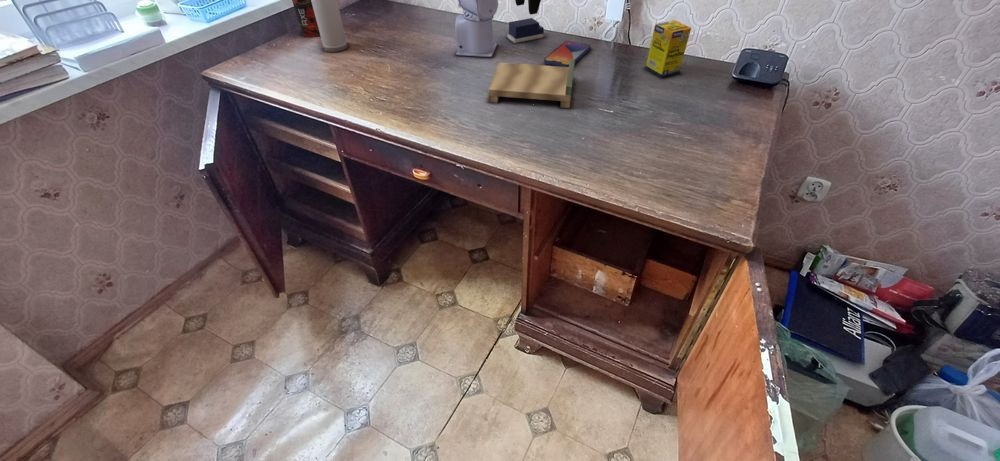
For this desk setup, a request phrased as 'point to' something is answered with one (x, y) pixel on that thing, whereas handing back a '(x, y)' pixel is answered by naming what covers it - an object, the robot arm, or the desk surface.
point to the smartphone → (566, 53)
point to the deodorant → (306, 18)
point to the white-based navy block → (525, 30)
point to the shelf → (533, 82)
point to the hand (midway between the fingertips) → (526, 9)
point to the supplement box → (667, 48)
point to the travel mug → (330, 25)
